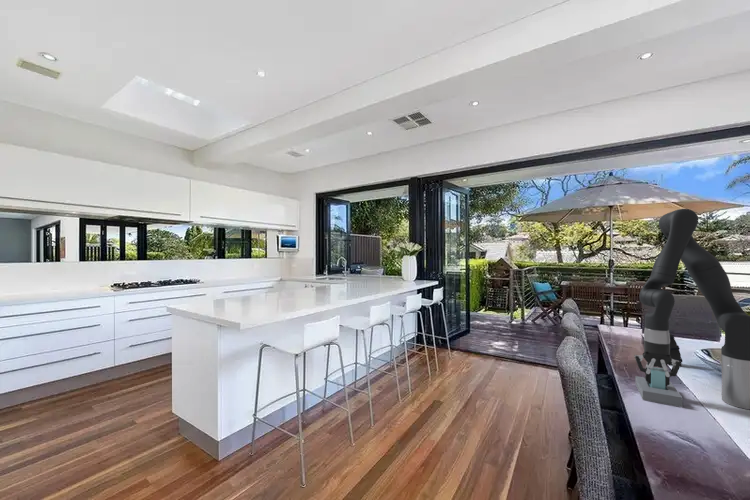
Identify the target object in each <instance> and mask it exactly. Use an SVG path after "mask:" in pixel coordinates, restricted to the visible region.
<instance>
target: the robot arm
mask: <svg viewBox="0 0 750 500" xmlns="http://www.w3.org/2000/svg"><path fill="white" fill-rule="evenodd" d="M698 225H699V215H698V214H697V213H696V212H695V211H694V210H693V209H690V208H680V209H676V210H673V211H670V212H668V213H665V214H663V215H662V216H661V217H660V218H659V220H658V227H659V229H660V231H661V232H662V234H663V235H664V236H665V238H666V239H667V240H666V243H665V244H664V246H662V249H661V251H659V254H658V255H657V257H656V258H655V260H654V263H653V266H652V270H651V273H650V276H649V278H648V280H647V281H646V282H645V283H644V285H643V287H642V288H641V289H640V291H639V295H638V296H639V301H640V303H641V304H642V305H644V306H646V307H652V308H655V309H654V311H653V312H647V313H645V315H644V330H643V353H642V354H634V358H635V361H636V365H637V366H638V369H639V371H640V372H643V373H644V374H645V375H644V376H645V377H644V378H645V379H646V381H647V382H648V383H649V384H651V374H650V372H651V369H652V368H653V367H654V368H661V369H663V370H664V371H665V386H667V385H669V384H670V382H671V381H670V378H671V377H676V376H677V375H678V372H679V371H680V368H681V367H680V366H681V363H682V362H681V363H680V362H679V361H678V360H674V359H672V358H671V357H670V335H669V334H670V328H669V326H670V324H669V322H670V321H669V320H670V317H671V315H672V311H673V309H674V306H675V301H676V300H675V298H674V295H673V294H672V292H670V291H669V290H665V289H663V287H666V286H671V285H673V284H674V282H675V280H676V279H675V278H676V276H677V271H678V269H679V265H680V263H681V261H682V263H683V265H684V266H685V268H686V270H687V272H688V274H689V276H690V277H691V279H692V280H693V282H694V283H695V285H696V286H697V288H698V290H699V291H700V293H701V294H702V295H703V296H704V298H705V300H706V301H707V302H708V304H709V306H710V308H711V310H712V313H713V315H714V317H715V320H716V323H717V324H718V327H719V328H720V329H721V331H723V333H724V344H723V346H721V350H720V351H721V355H720V356H721V357H720V358H721V359H720V360H721V400H722V402H724V403H726V404H728V405H730V406H733V407H737V408H740V409H745V410H750V315H749V314H747V313H746V312H745V310H744V309H743V308H742V306H740V304H739V302H738V301H737V300H736V298H735V296H734V294H733V290H732V284H731V281H730V279H729V276H728V274H727V272H726V271H725V269H724V267H723V266H722V264H721V262H720V261H719V260H718V259H717V258H716V257H715V256H714V255H713V254H712V253H711V252H709V250H707V249H706V248H704V247H703V246H701V245H700V244H699V243H698V242H697V240H695V238H694V236H693V235H694V232H695V230H696V228H697V226H698ZM643 359H644V360H645V361H646V365H645V367H644V366H643V364H642V361H643ZM670 362H672V364H673V365H672V367H671V370H670V371H669V369H668V367H667V366H669V365H668V364H669V363H670Z"/></svg>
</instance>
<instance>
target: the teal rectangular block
mask: <svg viewBox="0 0 750 500" xmlns="http://www.w3.org/2000/svg"><path fill="white" fill-rule="evenodd" d="M650 374H651V384H649V387H652V388H658V389H664V390H665V371H664V370H663V369H662V368H660V367H653V368H652V369H651V372H650Z"/></svg>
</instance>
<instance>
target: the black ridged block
mask: <svg viewBox="0 0 750 500" xmlns="http://www.w3.org/2000/svg"><path fill="white" fill-rule="evenodd" d="M669 335H670V357H671V358H672V359H674V360H678V361H679V362H680V363H681V366H680V368H682V367H683V366H682V365H683V364H682V363H683V359H682V357H681V356H682V355H681V352H680V346H679V345H678V343H677V341H676V339H675V336H674V335H672V333H670V332H669ZM667 366H673V364H672V362H670V363H669V364H668V365H667Z"/></svg>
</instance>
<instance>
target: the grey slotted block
mask: <svg viewBox="0 0 750 500" xmlns="http://www.w3.org/2000/svg"><path fill="white" fill-rule="evenodd" d="M635 386H636V389H637V390H638V391H637V392H638V393H639V395H640V397H641V399H642V401H647V402H652V403H657V404H664V405H668V406H673V407H679V408H683V396H682V395H681V394H680V392H679V390H677V388H676V387H675V385H674V384H673V383H672V381H670V384H669V385H667V386H665V390H664V389H658V388H652V387H649V383H648V382H647V381H646V379H645V377H644V376H638V375H635Z"/></svg>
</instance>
